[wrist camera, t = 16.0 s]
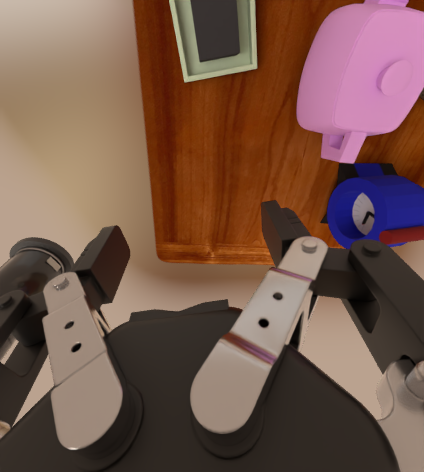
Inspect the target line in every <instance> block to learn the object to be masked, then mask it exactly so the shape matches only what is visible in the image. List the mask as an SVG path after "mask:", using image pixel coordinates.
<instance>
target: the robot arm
mask: <svg viewBox="0 0 424 472" xmlns="http://www.w3.org/2000/svg"><path fill="white" fill-rule="evenodd" d="M261 216H262V232H263V236H264V239H265V242H266V244H267V246H268V249H269V251H270V254H271V256H272V259H273V261H274V264H275V266H276V268H275V267H271V268H270V269H269V270H268V272H267V274H266V275H265V277H264V278H263V280H262V282H261V283H260V285H259V286H258V288H257V289H256V291H255V292H254V294H253V296H252V297H251V299H250V300H249V302H248V303H247V305H246V307H245V308H244V310H242V309H239V308H235V307H229V305H228V300H227V299H226V300H219V301H212V302H205V303H201V304H198V305H196V306H193V307H190V308H188V309H185V310H182V311H165V310H147V311H140V312H133V313H131V316H130V320H129V321H128V322H126V323H123V324H121V325H120V326H118V327H116V328H115V329H113V330H112V329H111V327H110V325H109V323H108V321H107V319H106V317H105V315H104V313H103V312H102V310H101V309H100V307H101V305H102V304H107V303H112V301H113V299H114V296H115V294H116V291H117V289H118V286H119V284H120V281H121V279H122V276H123V273H124V271H125V268H126V266H127V263H128V261H129V258H130V249H129V246H128V244H127V242H126V240H125V238H124V235H123V234H122V231H121V229H120V228H119V226H117V225H116V226H110V227H104V228H102V230H101V231H100V233H99V234H98V236H97V237H96V238H95V239H93V240H92V241H91V242H90V243H89V244H88V245H87V246H86V248H85V249H84V251H83V252H82V254H81V256H80V257H79V258H78V260H77V261H76V262H75V264H74V265H73V267H72V268H71V270H70V271H69V272H67V273H64V272H65V265H64V263H63V261H62V260H61V259H60V258H59V257H58V256H57V255H56V254H55V253H53V252H51V251H49V250H47V249H44V248H41V247H35V246H29V247H24V248H22V249H20V250H19V251H18V252H17V253H16V254H15V255H14V256H12V257H11V258H10V259H9V260H8V261H7V262H6V263H4V264H3V266H1V267H0V361H1V360H2V359H3V358H4V356H5V355H6V354H7V352H8V351H9V349H10V348H11V346H12V345H13V344H14V342H15V341H16V340H18V341H19V343H18V344H17V346H16V347H15V349H14V350H13V352H12V354H11V355H10V357H9V359H8V360H7V361H6V363H5V365H4V364H2V363H1V362H0V472H424V280H423V279H422V278H421V277H420V276H418V274H416V272H414V271H413V270H412V269H411V268H410V267H409V266H408V265H407V264H406V263H405V262H404V261H403V260H402V259H401V258H400V257H399V256H398V255H397V254H396V253H395V252H394V251H393V250H392V249H391V248H390V247H389V246H388V245H386V244H384V243H382V242H379V241H376V240H371V239H361V240H357V241H354V242H353V243H352V244H351V247H350V249H339V248H330V247H328V246H327V244H326V243H325V242H324V241H323V240H321V239H319V238H316V237H312V236H311V235H310V233H309V232H308V230H307V229H306V228H305V226H304V225H303V223H301V221H300V219H299V218H298V216H297V215H296V214H295V212H294V211H292V210H290V209H289V208H280V206H279V204H278V203H277V201H276V200H274V201H267V202H262V203H261ZM319 296H327V297H334V298H340V299H341V300H342V302H343V304H344V306H345V307H346V309H347V311H348V313H349V315H350V316H351V318H352V320H353V322H354V324H355V325H356V327H357V329H358V331H359V333H360V334H361V336H362V338H363V340H364V341H365V343H366V345H367V347H368V349H369V351H370V352H371V354H372V356H373V357H374V359H375V361H376V363H377V365H378V367H379V368H380V370H381V372H382V374H383V376H382V377H381V379H380V381H379V383H378V385H377V388H376V393H377V398H378V401H379V404H380V406H381V410H382V419H380V420H376V419H375V418H374V417H373V415H372V414H371V413H370V412H369V411H368V410H367V409H366V408H365V407H364V406H363V405H362V404H361V403H360V402H359V401H358V400H357V399H356V398H354V397H353V396H352V395H351V394H350V393H348V392H347V391H346V390H345V389H344V388H342V387H341V386H340V385H339V384H337V383H336V382H335V381H334V380H333V379H331V378H330V377H329V376H328V375H327V374H325V373H324V372H323V371H322V370H321V369H319V368H318V367H317V366H316V365H315V364H313V363H312V362H311V361H310V360H308V359H307V358H306V357H305V356H304V355H302V354H301V353H300V351H301V348H302V346H303V342H304V339H305V335H306V331H307V328H308V325H309V322H310V320H311V317H312V313H313V312H314V309H315V306H316V304H317V301H318V298H319ZM48 354H49V359H50V364H51V370H52V375H53V380H54V387H53V388H52V389H51V390H50V391H49V392H47V393H46V395H44V396H43V397H42V398H41V399H40V400H39V401H38V402H37V403H36V404H35V405H34V406H33V407H32V408H31V409H30V410H29V411H28V412H27V413H26V414H25V415H24V416H23V417H22V418H21V419H20V420H19V421H18V422H17V423H16V424H15V425H14V426H13V424H14V422H15V420H16V418H17V416H18V414H19V412H20V410H21V408H22V406H23V404H24V402H25V400H26V398H27V396H28V394H29V392H30V390H31V388H32V386H33V384H34V382H35V380H36V378H37V376H38V374H39V372H40V370H41V368H42V365H43V364H44V362H45V360H46V358H47V355H48ZM12 426H13V427H12Z"/></svg>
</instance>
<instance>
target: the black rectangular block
mask: <svg viewBox="0 0 424 472" xmlns="http://www.w3.org/2000/svg"><path fill="white" fill-rule="evenodd" d="M190 2H191V9H192V16H193V22H194V29H195V36H196V42H197V49H198V55H199V62H200V63H201V62H206V61H211V60H216V59H221V58H226V57H231V56H236V55H237V54H239V53H240V42H239V27H238V12H237V0H190Z"/></svg>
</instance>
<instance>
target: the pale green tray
mask: <svg viewBox="0 0 424 472" xmlns="http://www.w3.org/2000/svg"><path fill="white" fill-rule="evenodd" d="M169 2H170V7H171V12H172V18H173V23H174V28H175V34H176V39H177V44H178V50H179V55H180V60H181V66H182V71H183V76H184V82H191V81H196V80H201V79H206V78H211V77H217V76H222V75H227V74H232V73H237V72H242V71H248V70H253V69H257V46H256V16H255V0H237V12H238V27H239V42H240V53H239V54H237V55H236V56H231V57H226V58H221V59H216V60H211V61H206V62H201V63H200V62H199V55H198V49H197V42H196V36H195V29H194V22H193V16H192V9H191V2H190V0H169Z"/></svg>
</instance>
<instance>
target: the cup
mask: <svg viewBox="0 0 424 472" xmlns="http://www.w3.org/2000/svg"><path fill="white" fill-rule="evenodd" d="M419 96H420V97H421V98H422V99H423V100H424V88H423V90H422V91H421V93H420V95H419Z"/></svg>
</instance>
